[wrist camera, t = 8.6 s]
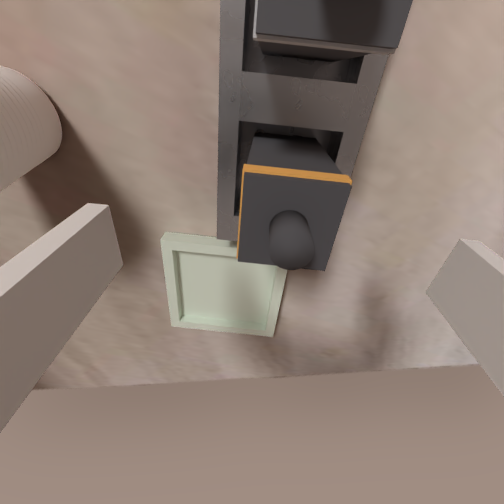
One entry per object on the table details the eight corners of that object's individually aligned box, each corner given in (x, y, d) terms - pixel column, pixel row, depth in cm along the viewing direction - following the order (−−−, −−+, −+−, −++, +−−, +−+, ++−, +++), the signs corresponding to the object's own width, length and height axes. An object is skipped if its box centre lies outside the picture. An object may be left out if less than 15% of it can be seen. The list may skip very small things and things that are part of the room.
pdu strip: (223, 219, 24) (216, 239, 21) (234, -152, 12) (224, -222, 10) (320, 229, 24) (327, 251, 21) (420, -131, 12) (465, -194, 10)
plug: (248, 191, 22) (230, 289, 12) (253, 130, 19) (236, 189, 9) (304, 197, 22) (334, 300, 12) (317, 137, 19) (370, 204, 9)
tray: (175, 316, 32) (171, 326, 30) (165, 231, 25) (160, 239, 24) (272, 326, 32) (272, 337, 30) (289, 245, 25) (290, 253, 24)
